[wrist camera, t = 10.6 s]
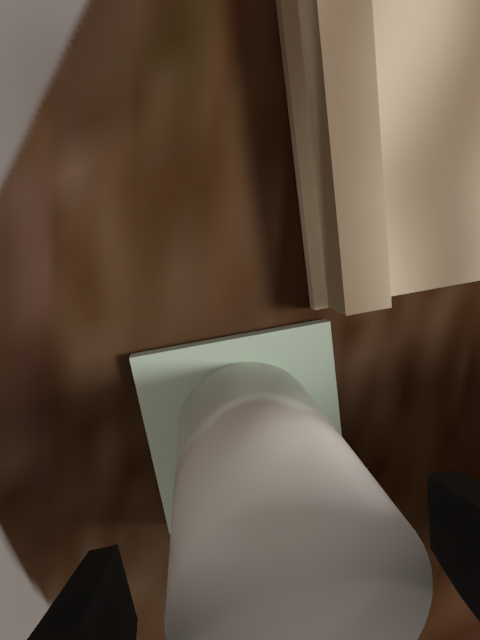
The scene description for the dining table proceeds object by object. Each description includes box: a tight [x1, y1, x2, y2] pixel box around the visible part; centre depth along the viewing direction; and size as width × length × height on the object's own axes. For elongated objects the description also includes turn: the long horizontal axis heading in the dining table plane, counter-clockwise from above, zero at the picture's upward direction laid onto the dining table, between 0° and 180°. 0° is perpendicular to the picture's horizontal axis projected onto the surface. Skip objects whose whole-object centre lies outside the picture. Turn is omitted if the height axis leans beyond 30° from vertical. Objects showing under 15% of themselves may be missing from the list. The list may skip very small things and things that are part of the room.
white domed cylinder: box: [164, 362, 433, 640], centre depth 10 cm, size 5×6×7 cm
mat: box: [129, 319, 342, 534], centre depth 14 cm, size 7×7×1 cm
